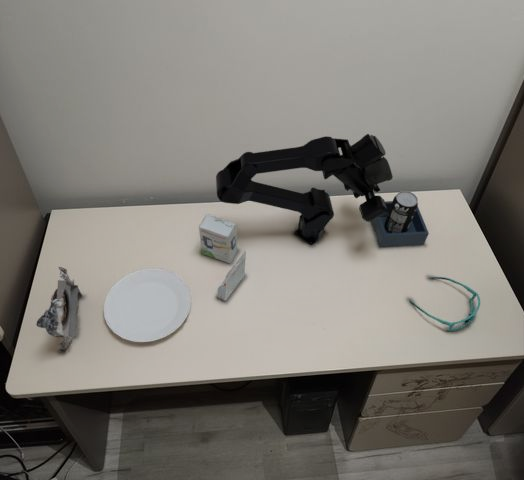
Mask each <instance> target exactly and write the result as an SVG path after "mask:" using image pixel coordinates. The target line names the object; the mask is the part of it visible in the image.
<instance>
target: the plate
mask: <svg viewBox="0 0 524 480" xmlns="http://www.w3.org/2000/svg"><path fill="white" fill-rule="evenodd" d="M191 302H192V296H191V292H190V289H189V287H188V285H187V283H186V281H184V280H183V279H182V278H181V277H180V276H179V275H178V274H176V273H174V272H173V271H170V270H166V269H164V268H155V267H154V268H153V267H149V268H142V269H138V270H135V271H132V272H130V273H127V274H126V275H125V276H122V277H121V278H120V279H119V280H118V281H116V282H115V283H114V284H113V286H112V287H111V288H110V289H109V290H108V293H107V295H106V297H105V299H104V304H103V317H104V320H105V322H106V324H107V326H108V328H109V329H110V330H111V331H112V332H113V333H114V334H115V335H116V336H118V337H119V338H121V339H123V340H127V341H130V342H135V343H148V342H156V341H158V340H161V339H164V338H166V337H168V336H169V335H171V334H172V333H174V332H175V331H177V330H178V329H179V328H180V327H181V326H182V325H183V323H184V322H185V320H186V319H187V317H188V316H189V312H190V310H191V305H192V303H191Z"/></svg>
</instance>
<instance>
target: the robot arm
mask: <svg viewBox="0 0 524 480" xmlns="http://www.w3.org/2000/svg"><path fill="white" fill-rule="evenodd" d="M340 152H341V153H340ZM386 154H387V153H386V150H385V148H384V146H383V144H382V142H381V141H380V140H379V139H378V138H377V136H376V135H373V134H369V133H366V134H365V135H364V136H363V137H361V138H360V139H359V140H358V141H356V142H355V143H353V144H352V145H351V143H350V141H349V139H346V138H345V139H344V138H334V137H332V136H329V135H328V136H327V135H326V136H321V137H318V138H313V139H311V140H309V141H308V142H306V143H305V144H303V145H301V146H296V147H288V148H281V149H272V150H265V151H258V152H252V151H245V152H243V153H242V154H241V155H240V157H238V158H236V159H234V160H231V161H229V162H228V163H227V165H226V166H225V167H223V169H221V170H219V171H217V173H216V175H215V184H216V197H217V199H218V200H219V201H220V202H222V203H225V204H231V205H240V204H243V203H246V202H253V203H257V204H262V205H267V206H271V207H275V208H280V209H284V210H289V211H291V212H297V213H299V216H298V217H299V218H298V225H297V229H296V230H295V231H294V232H293V233H294V236H296V237H298V238H299V239H301V240H303V241H304V242H306V243H307V244H309V245H310V246H313V245H315V243H317V242H318V241H320V240H321V239H322V238H323V237H324V235H325V234H326V230H325V229H326V226H327V225H328V224H329V222H330V221H331V220H332V219H333V218H334V216H335V211H334V208H333V204H332V200H331V196H330V195H329V193H328V192H326V190H325V189H319V188H316V187H311V188H310V190H308V191H306V192H303V193H302V192H298V191H294V190H291V189H286V188H282V187H277V186H274V185H270V184H266V183H262V182H257V181H254V180H252V179H253V178H254V177H255V176H256V175H258V174H264V173H265V174H266V173H275V172H279V171H289V170H295V169H308V170H311V171H314V172H322V176H323V179H324V180H327V179H329V178H330V177H332V176H333V177H335V178H336V179H337V180H338V181H339V182H341V183H342V184H343V187H344V190H346V191H347V192H348V191H350V192H352V194H353V197H354V198H355V199H358V198H360V197H364V198H365V201H363V202H362V203H361V204H359V207H358V211H359V213H360V217H361V219H362V220H363V221H365V222H367V223H369V222H372V221H371V220H372V219H374V218H376V217H387V216H389V214H388V212H387V211H386V210H387V207H386V204H385V201H386V200H385V199H384V198H383V197H382V196H381V195H376V193H378V192H380V191H381V188H380V186H379V185H378V184H382V183H385V182H388V181H391V180H392V179H393V178H394V177H393V172H392V169H391V165H390V164H389V161H388V159H387V158H386V157H385V156H386Z"/></svg>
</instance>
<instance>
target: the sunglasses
mask: <svg viewBox="0 0 524 480" xmlns="http://www.w3.org/2000/svg"><path fill="white" fill-rule="evenodd" d="M428 278H429V279H430V280H434V279H437V280H445V281H449V282H451V283H454V284H456V285H459V286H461V287H462V288H464V289H465V290H466V291H467V292H468V293H470V294H472V296H471V298H470V299H469V303H470V313H469V314H468V316H467V317H465V318H463V319H462V320H459V321H454V322H450V321H447V320H443V319H440V318H438V317H435V316H434V315H432V314H430V313H428V312H427V311H425V310H424V309H423V308H422V307H420V306H419V305H417V304H416V303H415V302H414V301H413V300H412V299H409V301H410V303H411V304H412V305H413V306H414V307H415V308H416V309H418V310H419V311H420V312H422V313H423V314H424V315H425V316H427V317H429V318H431V319H433V320H435V321H437V322H439V323H440V324H442V325H445V326H448V328H447V330H448V331H450V332H452V331H454V332H455V331H458V330H461V329H464V328H465V327H467V326H468V325H470V324H471V323H472V322H474V320H475V319H476V314H477V313H478V311H479V310H480V307H481V297H480V294H479V293H478V292H476V291H475V290H474V289H472V288H471V287H469V286H468V285H465V284H463V283H462V282H459V281H457V280H454V279H452V278H449V277H444V276H429V277H428ZM475 298H477V307H476V308H475V310H474V300H475ZM462 323H464V324H463V325H461V326H460V327H454V326H455V325H458V324H462ZM453 327H454V328H453Z"/></svg>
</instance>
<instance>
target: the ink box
mask: <svg viewBox="0 0 524 480" xmlns="http://www.w3.org/2000/svg"><path fill="white" fill-rule="evenodd" d="M198 230H199V232H198V233H199V239H200V246H201V253H202V255H204V256H207V257H210V258H213V259H216V260H218V261H221V262H225V263H228V264H232V262H233V260H234V258H235V256H236V255H237V252H238V237H237V236H238V235H237V232H238V231H237V224H236V223H234V222H233V221H231V220H228V219H227V220H226V219H223V218H222V217H218V216H216V215H212V214H209V213H208V214H206V215H205V216H204V217H203V219H202V220H201V222H200V224H199V225H198Z"/></svg>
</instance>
